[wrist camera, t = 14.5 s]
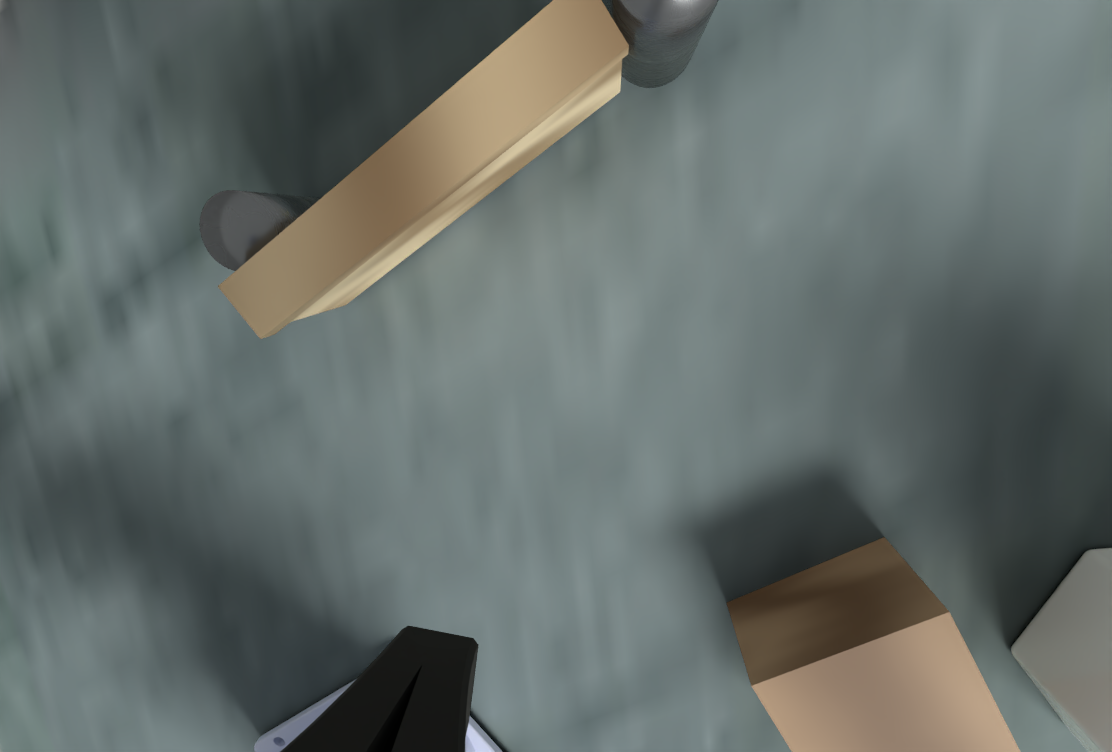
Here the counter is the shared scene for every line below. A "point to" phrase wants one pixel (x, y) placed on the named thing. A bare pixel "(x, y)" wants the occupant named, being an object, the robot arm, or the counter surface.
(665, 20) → the hinge post
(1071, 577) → the jar
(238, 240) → the post
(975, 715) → the block
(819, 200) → the counter surface
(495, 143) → the gate
